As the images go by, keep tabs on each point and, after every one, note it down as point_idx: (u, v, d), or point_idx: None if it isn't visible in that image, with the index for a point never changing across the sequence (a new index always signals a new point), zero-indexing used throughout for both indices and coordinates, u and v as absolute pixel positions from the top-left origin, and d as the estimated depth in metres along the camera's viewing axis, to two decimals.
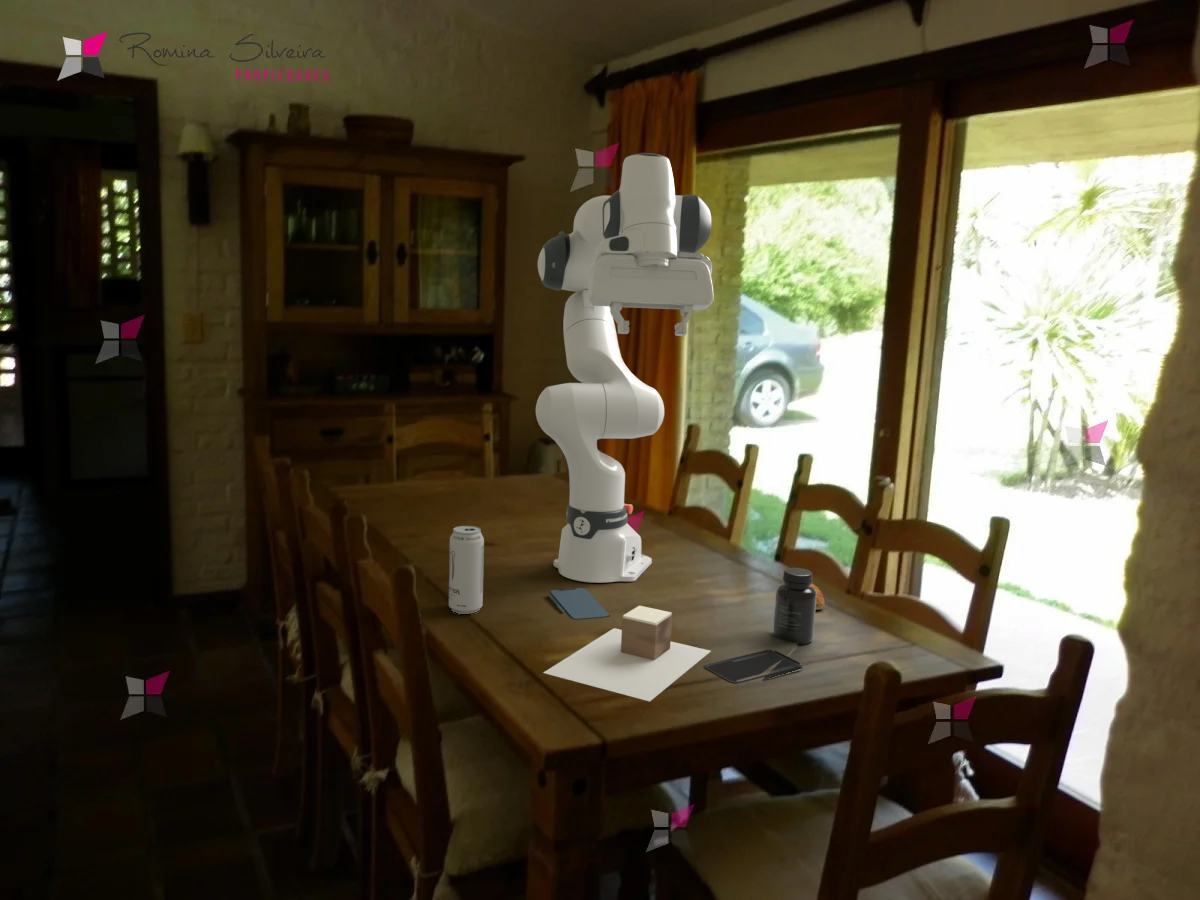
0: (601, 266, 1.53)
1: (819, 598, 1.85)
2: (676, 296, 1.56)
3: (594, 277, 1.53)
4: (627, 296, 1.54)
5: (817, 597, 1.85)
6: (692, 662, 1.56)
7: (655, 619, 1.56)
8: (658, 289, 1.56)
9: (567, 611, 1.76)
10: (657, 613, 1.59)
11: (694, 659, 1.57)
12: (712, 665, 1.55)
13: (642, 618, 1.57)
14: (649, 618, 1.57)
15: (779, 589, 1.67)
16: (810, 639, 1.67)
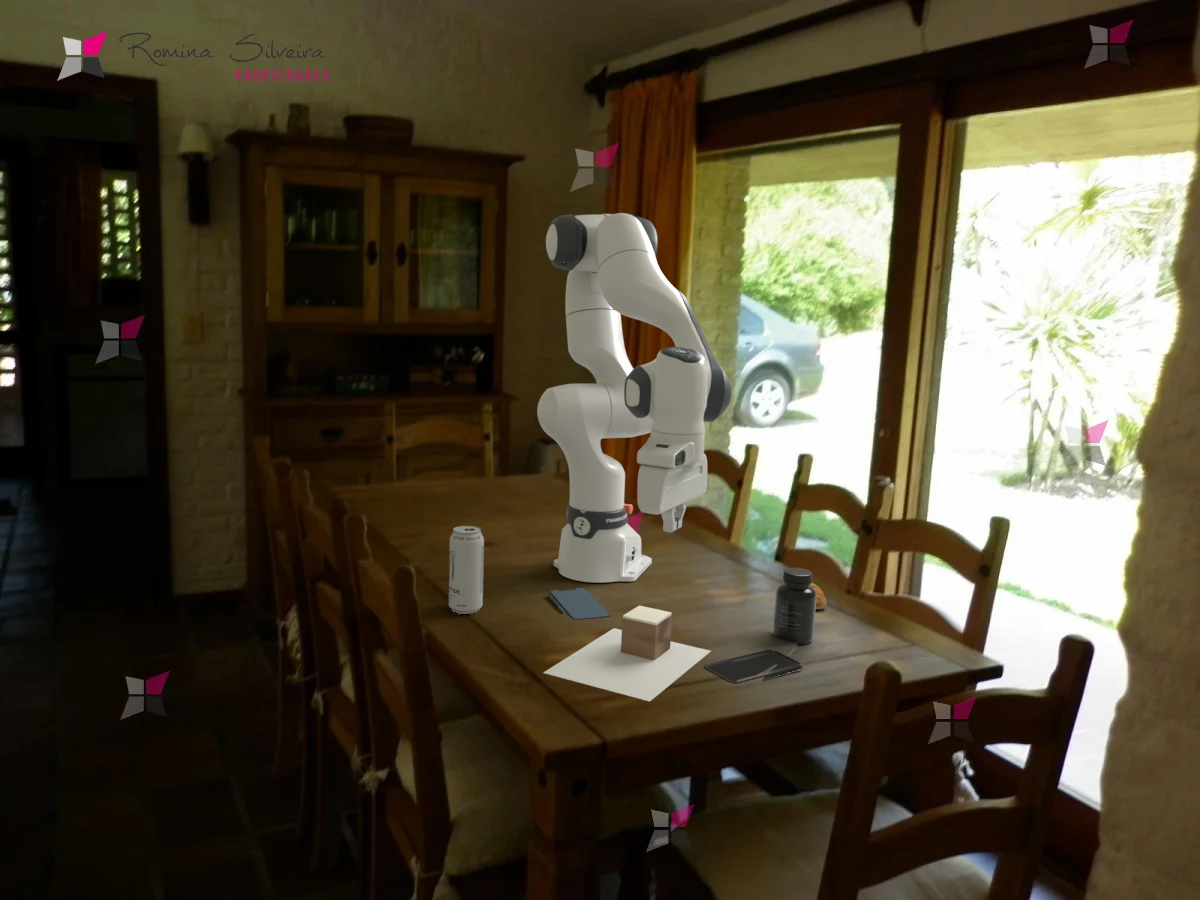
0: (666, 481, 1.53)
1: (821, 598, 1.85)
2: (693, 493, 1.65)
3: (661, 493, 1.53)
4: (673, 504, 1.58)
5: (819, 597, 1.85)
6: (692, 662, 1.56)
7: (655, 619, 1.56)
8: (686, 490, 1.62)
9: (567, 611, 1.76)
10: (657, 613, 1.59)
11: (694, 659, 1.57)
12: (712, 665, 1.55)
13: (642, 618, 1.57)
14: (649, 618, 1.57)
15: (779, 589, 1.67)
16: (810, 639, 1.67)
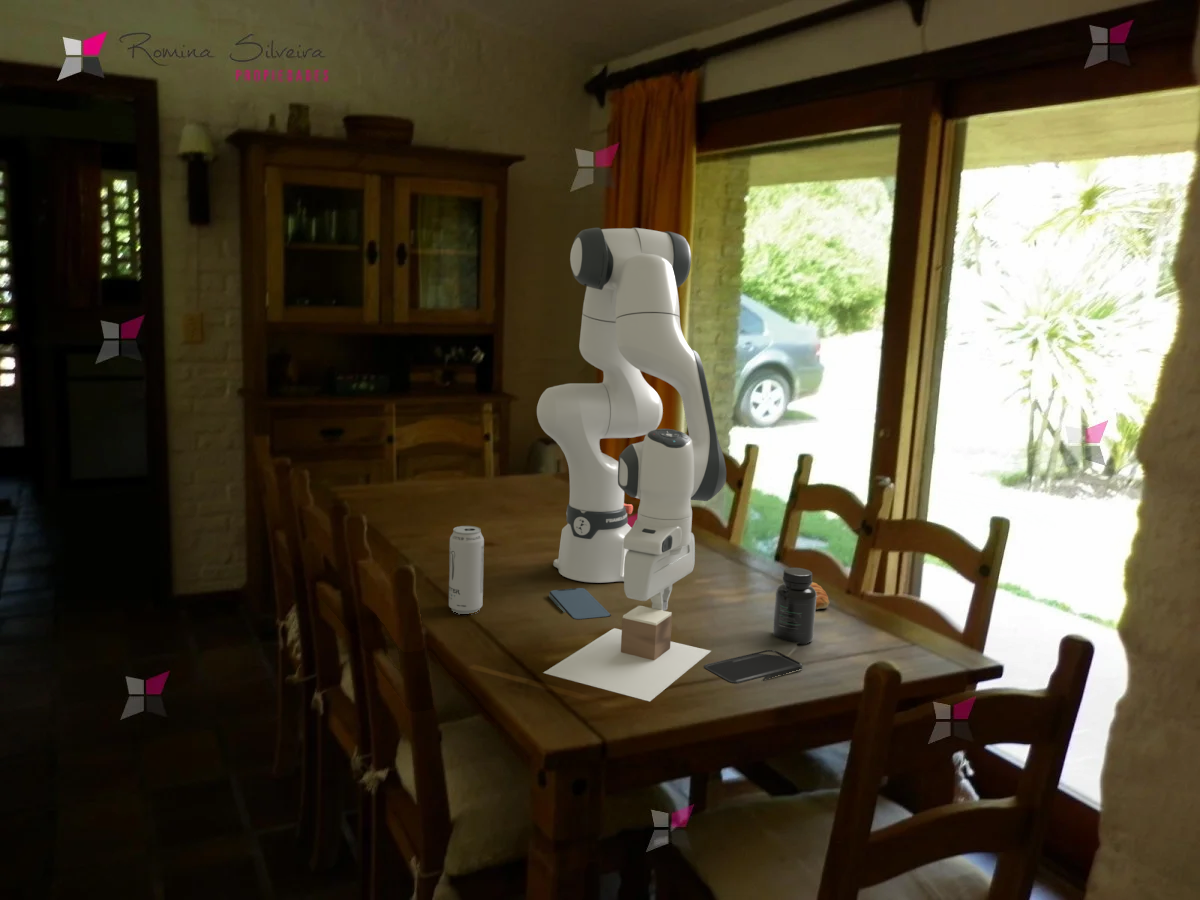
0: (653, 568, 1.52)
1: (824, 597, 1.85)
2: (680, 574, 1.64)
3: (647, 581, 1.52)
4: (660, 588, 1.57)
5: (822, 596, 1.85)
6: (692, 662, 1.56)
7: (655, 619, 1.56)
8: (673, 572, 1.61)
9: (568, 611, 1.76)
10: (657, 613, 1.59)
11: (694, 659, 1.57)
12: (712, 665, 1.55)
13: (642, 618, 1.57)
14: (649, 618, 1.57)
15: (779, 589, 1.67)
16: (810, 639, 1.67)
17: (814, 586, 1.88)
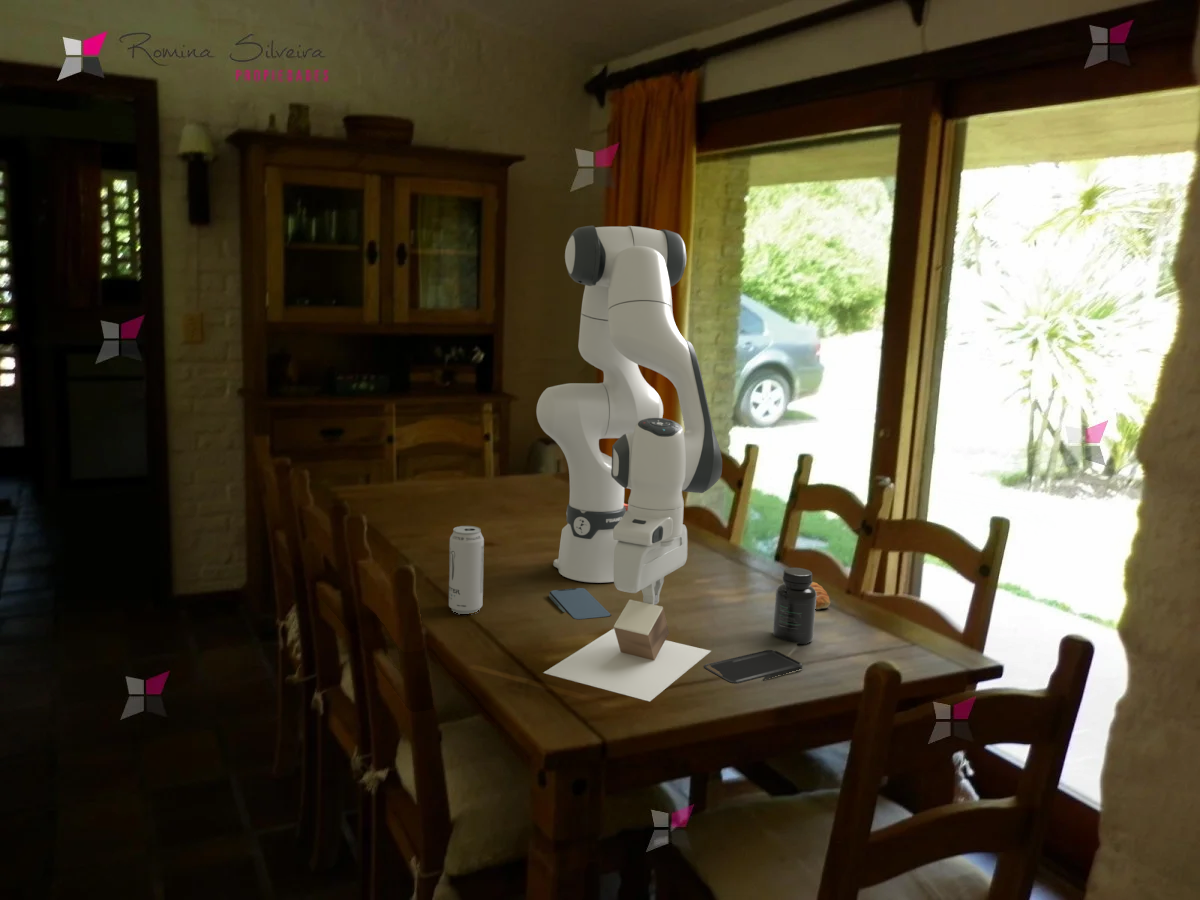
0: (643, 559, 1.49)
1: (825, 597, 1.85)
2: (672, 566, 1.60)
3: (637, 572, 1.48)
4: (651, 580, 1.53)
5: (823, 596, 1.86)
6: (692, 662, 1.56)
7: (646, 626, 1.54)
8: (664, 564, 1.57)
9: (568, 611, 1.76)
10: (648, 612, 1.56)
11: (694, 659, 1.57)
12: (712, 665, 1.55)
13: (633, 627, 1.54)
14: (640, 625, 1.54)
15: (779, 589, 1.67)
16: (810, 639, 1.67)
17: (815, 586, 1.89)
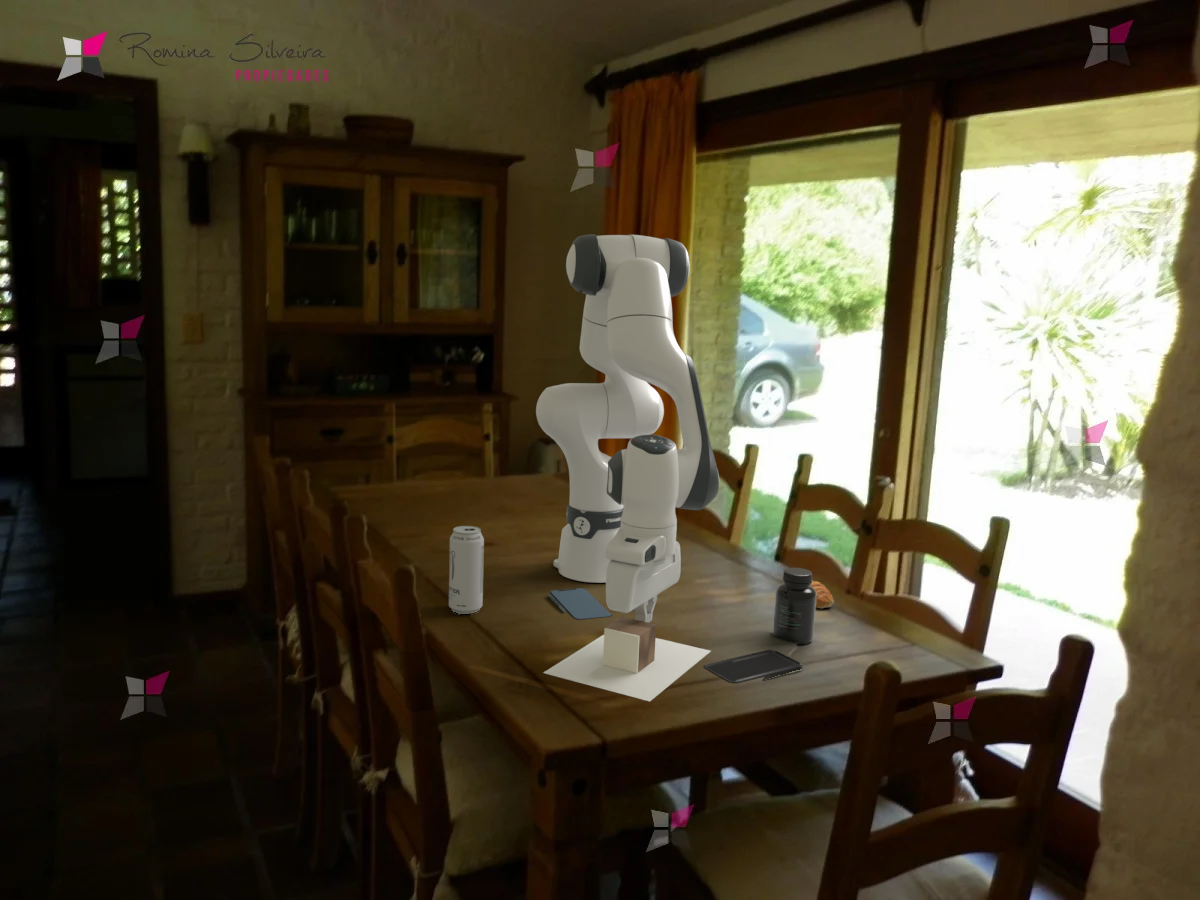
0: (636, 579, 1.47)
1: (828, 596, 1.86)
2: (665, 584, 1.59)
3: (630, 592, 1.47)
4: (643, 599, 1.52)
5: (826, 595, 1.86)
6: (692, 662, 1.56)
7: (632, 663, 1.51)
8: (657, 583, 1.56)
9: (569, 611, 1.76)
10: (627, 645, 1.50)
11: (694, 659, 1.57)
12: (712, 665, 1.55)
13: (621, 665, 1.52)
14: (626, 662, 1.51)
15: (779, 589, 1.67)
16: (810, 639, 1.67)
17: (818, 585, 1.89)
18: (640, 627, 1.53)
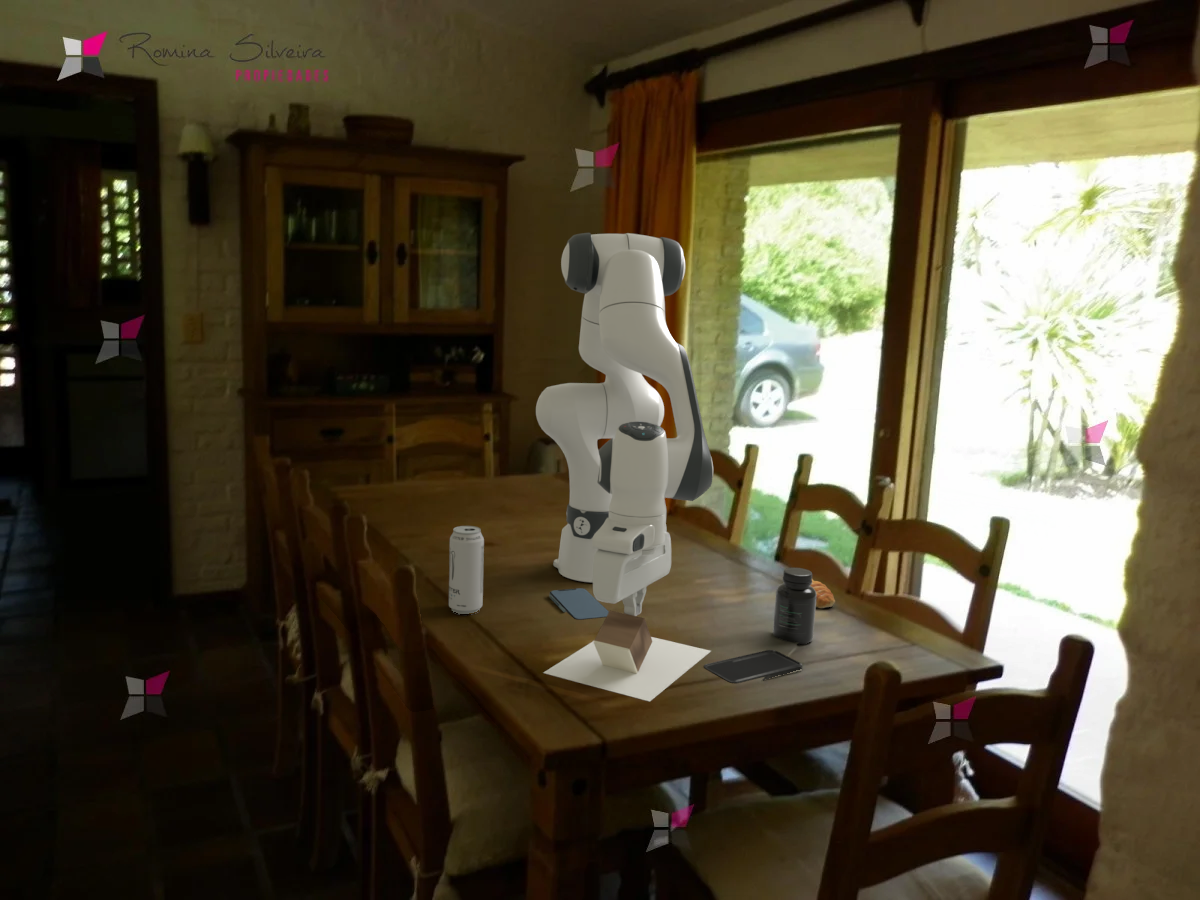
0: (623, 569, 1.43)
1: (829, 595, 1.86)
2: (655, 576, 1.55)
3: (617, 582, 1.42)
4: (632, 590, 1.48)
5: (827, 594, 1.86)
6: (692, 662, 1.56)
7: (630, 667, 1.50)
8: (647, 574, 1.52)
9: (569, 611, 1.76)
10: (620, 655, 1.49)
11: (694, 659, 1.57)
12: (712, 665, 1.55)
13: (620, 667, 1.51)
14: (624, 666, 1.50)
15: (779, 589, 1.67)
16: (810, 639, 1.67)
17: (819, 585, 1.89)
18: (629, 631, 1.49)
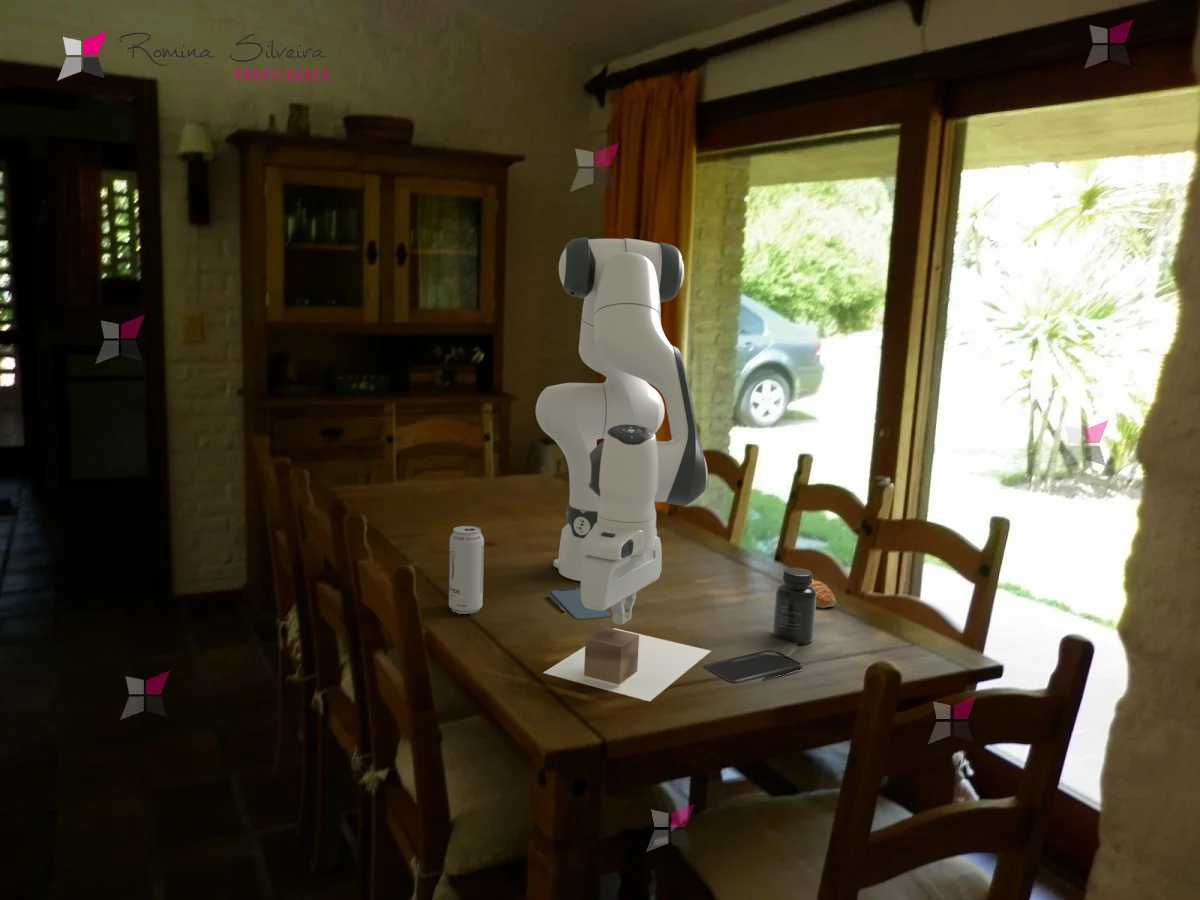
0: (612, 575, 1.40)
1: (830, 595, 1.86)
2: (644, 581, 1.52)
3: (605, 589, 1.40)
4: (620, 597, 1.45)
5: (828, 594, 1.87)
6: (692, 662, 1.56)
7: None
8: (636, 579, 1.49)
9: (569, 611, 1.76)
10: None
11: (694, 659, 1.57)
12: (712, 665, 1.55)
13: None
14: None
15: (779, 589, 1.67)
16: (810, 639, 1.67)
17: (819, 584, 1.90)
18: (612, 663, 1.45)
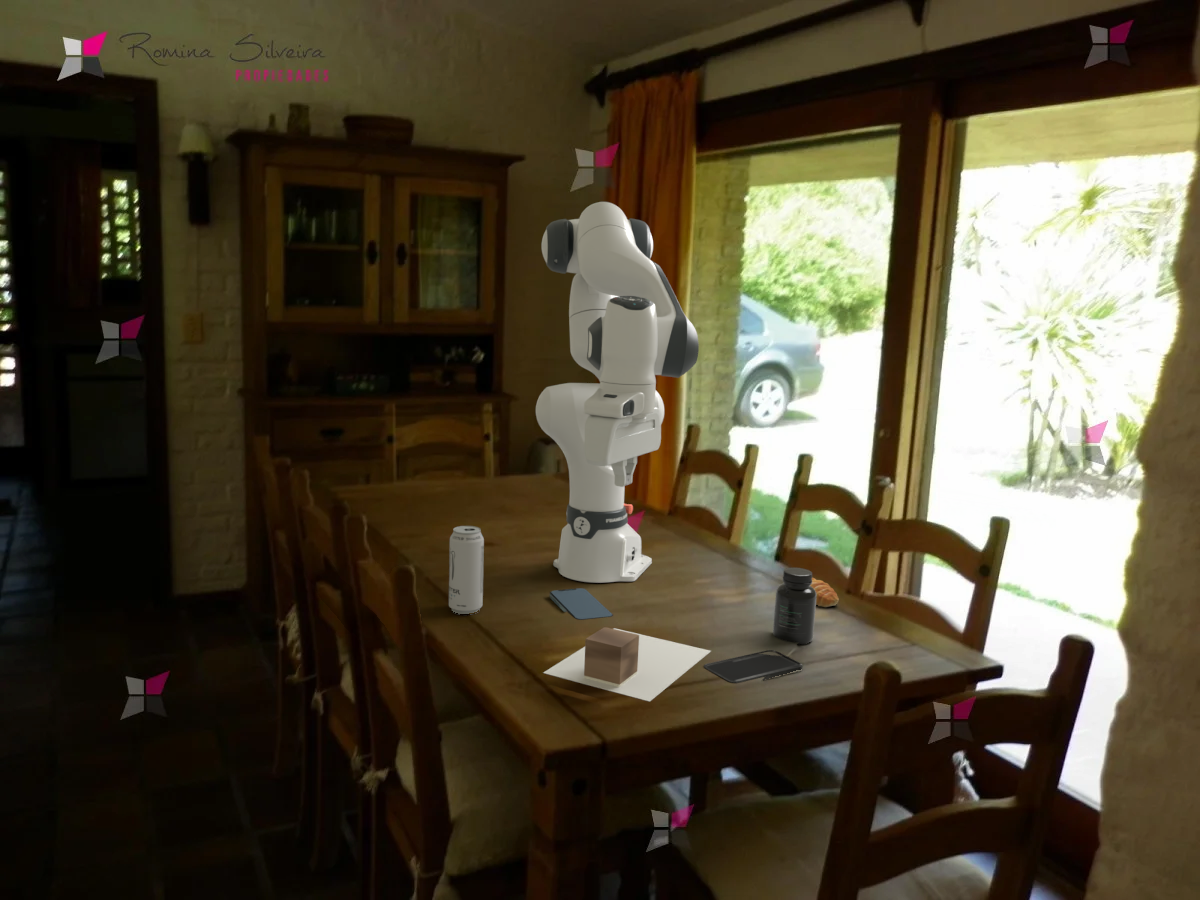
0: (614, 432, 1.48)
1: (833, 594, 1.87)
2: (645, 448, 1.60)
3: (608, 444, 1.48)
4: (622, 456, 1.53)
5: (831, 593, 1.87)
6: (692, 662, 1.56)
7: None
8: (637, 444, 1.57)
9: (570, 611, 1.76)
10: None
11: (694, 659, 1.57)
12: (712, 665, 1.55)
13: None
14: None
15: (779, 589, 1.67)
16: (810, 639, 1.67)
17: (822, 584, 1.90)
18: (612, 663, 1.45)
